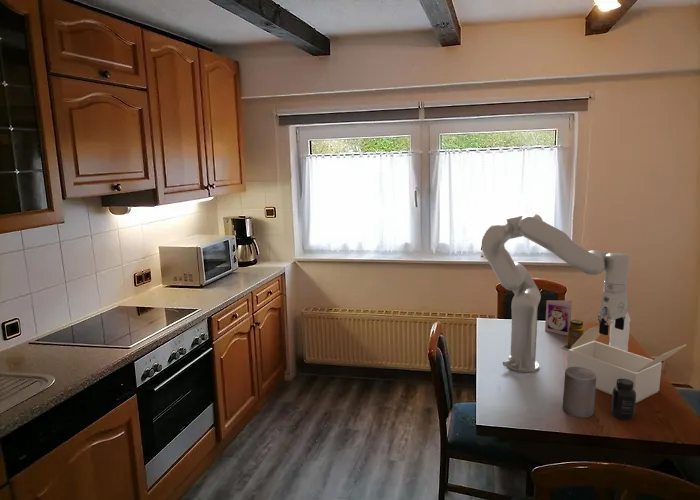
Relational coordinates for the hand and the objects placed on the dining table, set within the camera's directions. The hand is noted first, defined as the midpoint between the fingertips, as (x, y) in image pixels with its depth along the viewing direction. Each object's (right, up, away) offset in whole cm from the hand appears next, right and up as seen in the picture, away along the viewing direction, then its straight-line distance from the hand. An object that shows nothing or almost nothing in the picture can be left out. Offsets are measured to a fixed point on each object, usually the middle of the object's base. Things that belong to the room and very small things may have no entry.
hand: (611, 331), depth 191 cm
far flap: (-5, -2, +4) cm, 7 cm away
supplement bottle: (-7, -24, -21) cm, 33 cm away
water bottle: (+13, -15, +21) cm, 29 cm away
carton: (0, -19, 0) cm, 20 cm away
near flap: (+9, -6, -17) cm, 20 cm away
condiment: (+1, -13, +34) cm, 37 cm away
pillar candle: (-20, -24, -18) cm, 36 cm away
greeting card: (+3, -9, +54) cm, 55 cm away
